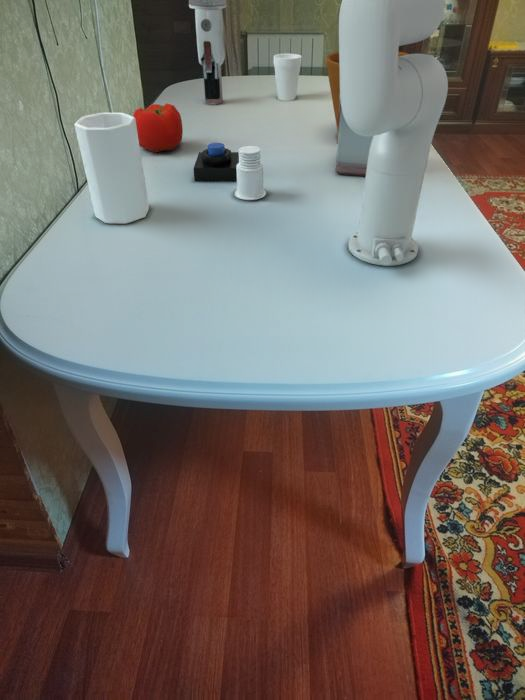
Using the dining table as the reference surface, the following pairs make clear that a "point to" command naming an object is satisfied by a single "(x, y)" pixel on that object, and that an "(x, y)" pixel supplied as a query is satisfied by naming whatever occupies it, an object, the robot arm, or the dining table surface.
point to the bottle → (351, 149)
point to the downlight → (249, 174)
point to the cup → (113, 166)
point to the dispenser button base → (216, 166)
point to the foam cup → (287, 75)
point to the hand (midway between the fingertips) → (212, 98)
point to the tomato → (158, 127)
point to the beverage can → (219, 101)
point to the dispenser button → (216, 149)
